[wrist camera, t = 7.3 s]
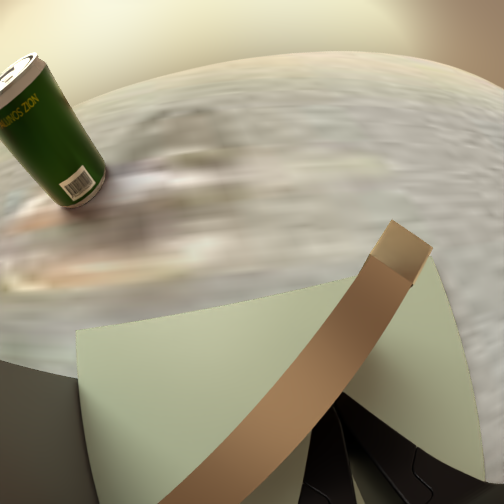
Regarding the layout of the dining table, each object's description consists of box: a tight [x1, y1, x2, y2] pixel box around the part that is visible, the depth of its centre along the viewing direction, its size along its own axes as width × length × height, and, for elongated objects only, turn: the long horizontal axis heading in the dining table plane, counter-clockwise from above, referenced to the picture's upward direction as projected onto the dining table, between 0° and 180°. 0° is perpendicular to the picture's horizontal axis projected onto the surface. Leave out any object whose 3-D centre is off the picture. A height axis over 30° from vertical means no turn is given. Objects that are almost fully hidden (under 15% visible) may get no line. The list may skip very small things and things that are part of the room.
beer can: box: [0, 53, 106, 208], centre depth 17 cm, size 5×5×12 cm
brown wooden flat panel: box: [157, 220, 433, 504], centre depth 8 cm, size 18×1×9 cm, turn 140°
